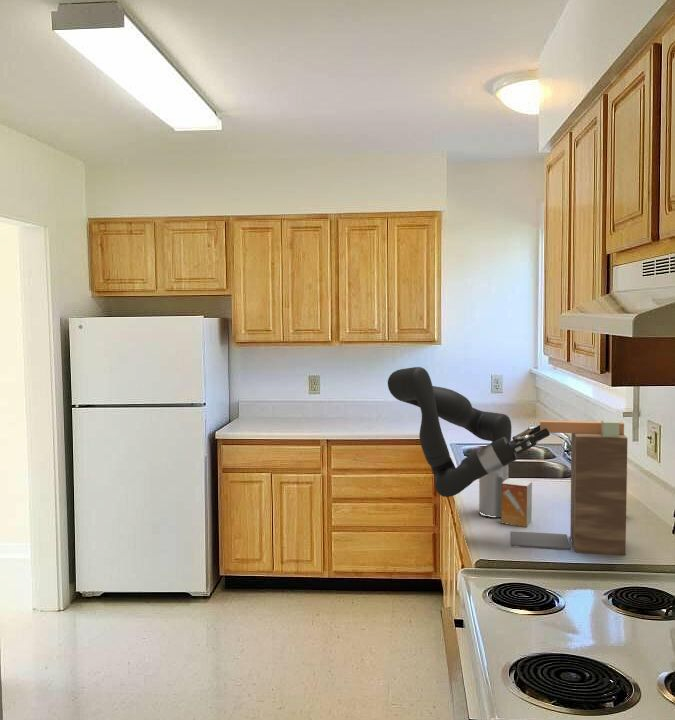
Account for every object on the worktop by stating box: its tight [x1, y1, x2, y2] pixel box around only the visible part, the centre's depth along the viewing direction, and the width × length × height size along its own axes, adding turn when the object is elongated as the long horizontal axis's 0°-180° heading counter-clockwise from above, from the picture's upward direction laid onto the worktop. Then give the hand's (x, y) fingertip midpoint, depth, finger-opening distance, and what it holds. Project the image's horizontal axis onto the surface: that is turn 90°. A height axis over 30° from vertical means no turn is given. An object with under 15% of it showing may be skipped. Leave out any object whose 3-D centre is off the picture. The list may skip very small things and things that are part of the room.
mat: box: [510, 530, 572, 551], centre depth 205 cm, size 12×16×1 cm
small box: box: [500, 478, 533, 528], centre depth 222 cm, size 8×6×13 cm
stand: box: [569, 433, 628, 556], centre depth 200 cm, size 13×13×32 cm
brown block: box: [539, 419, 625, 435], centre depth 200 cm, size 3×22×3 cm, turn 77°
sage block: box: [601, 419, 620, 438], centre depth 194 cm, size 4×4×4 cm
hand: (547, 428), depth 202 cm, fingers open, 8 cm apart
